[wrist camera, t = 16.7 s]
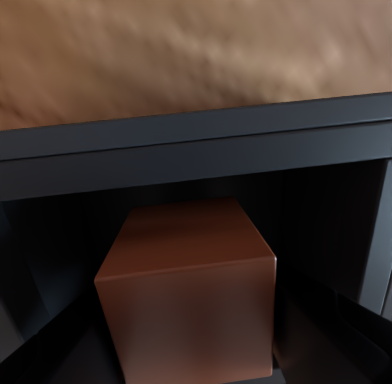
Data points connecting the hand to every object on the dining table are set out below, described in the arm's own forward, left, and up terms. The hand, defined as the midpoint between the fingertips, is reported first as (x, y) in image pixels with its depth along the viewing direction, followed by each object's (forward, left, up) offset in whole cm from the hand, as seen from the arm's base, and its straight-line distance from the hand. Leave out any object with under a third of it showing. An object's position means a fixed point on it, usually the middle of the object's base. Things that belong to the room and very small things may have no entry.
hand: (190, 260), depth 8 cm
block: (0, 0, -1) cm, 1 cm away
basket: (-4, -2, -2) cm, 5 cm away
